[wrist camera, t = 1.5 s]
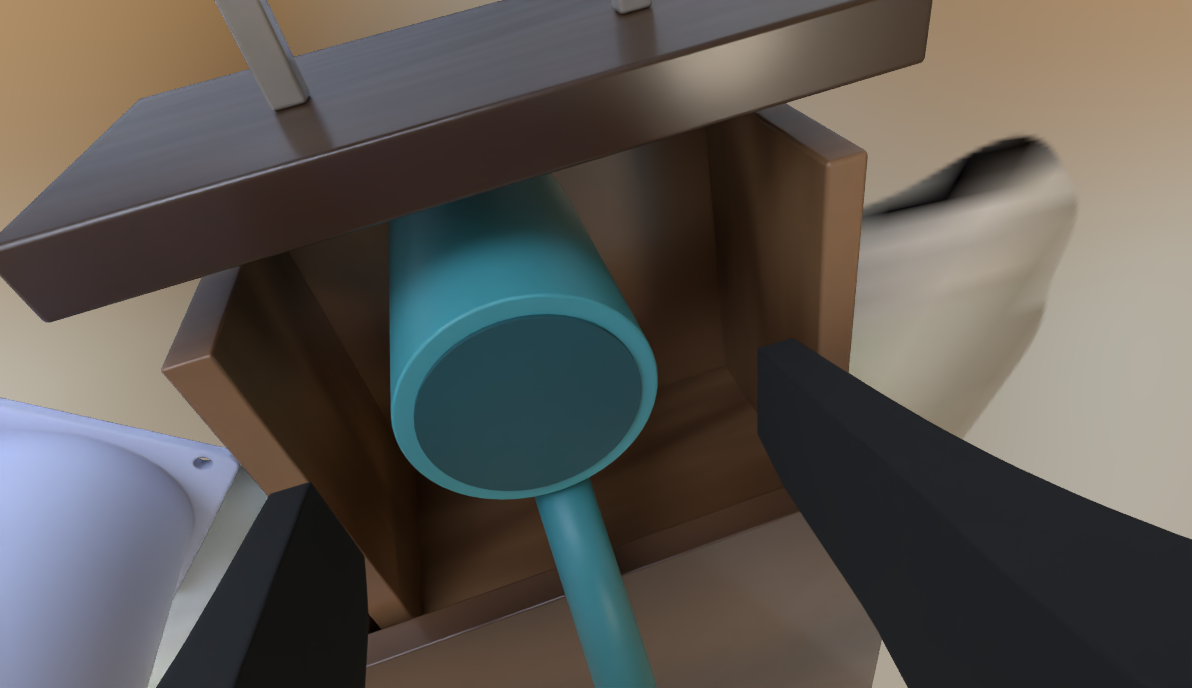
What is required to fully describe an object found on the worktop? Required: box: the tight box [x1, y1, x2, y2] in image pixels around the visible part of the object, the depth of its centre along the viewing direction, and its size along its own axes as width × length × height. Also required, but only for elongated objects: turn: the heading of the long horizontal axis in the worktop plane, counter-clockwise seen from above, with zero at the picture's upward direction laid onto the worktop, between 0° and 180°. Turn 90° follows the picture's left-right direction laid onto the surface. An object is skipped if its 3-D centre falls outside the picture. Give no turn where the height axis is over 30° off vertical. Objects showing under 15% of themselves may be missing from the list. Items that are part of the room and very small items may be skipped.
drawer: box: [0, 0, 932, 629], centre depth 14 cm, size 17×13×7 cm
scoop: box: [388, 173, 658, 688], centre depth 14 cm, size 9×5×10 cm, turn 11°
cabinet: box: [365, 487, 882, 688], centre depth 22 cm, size 14×15×9 cm
